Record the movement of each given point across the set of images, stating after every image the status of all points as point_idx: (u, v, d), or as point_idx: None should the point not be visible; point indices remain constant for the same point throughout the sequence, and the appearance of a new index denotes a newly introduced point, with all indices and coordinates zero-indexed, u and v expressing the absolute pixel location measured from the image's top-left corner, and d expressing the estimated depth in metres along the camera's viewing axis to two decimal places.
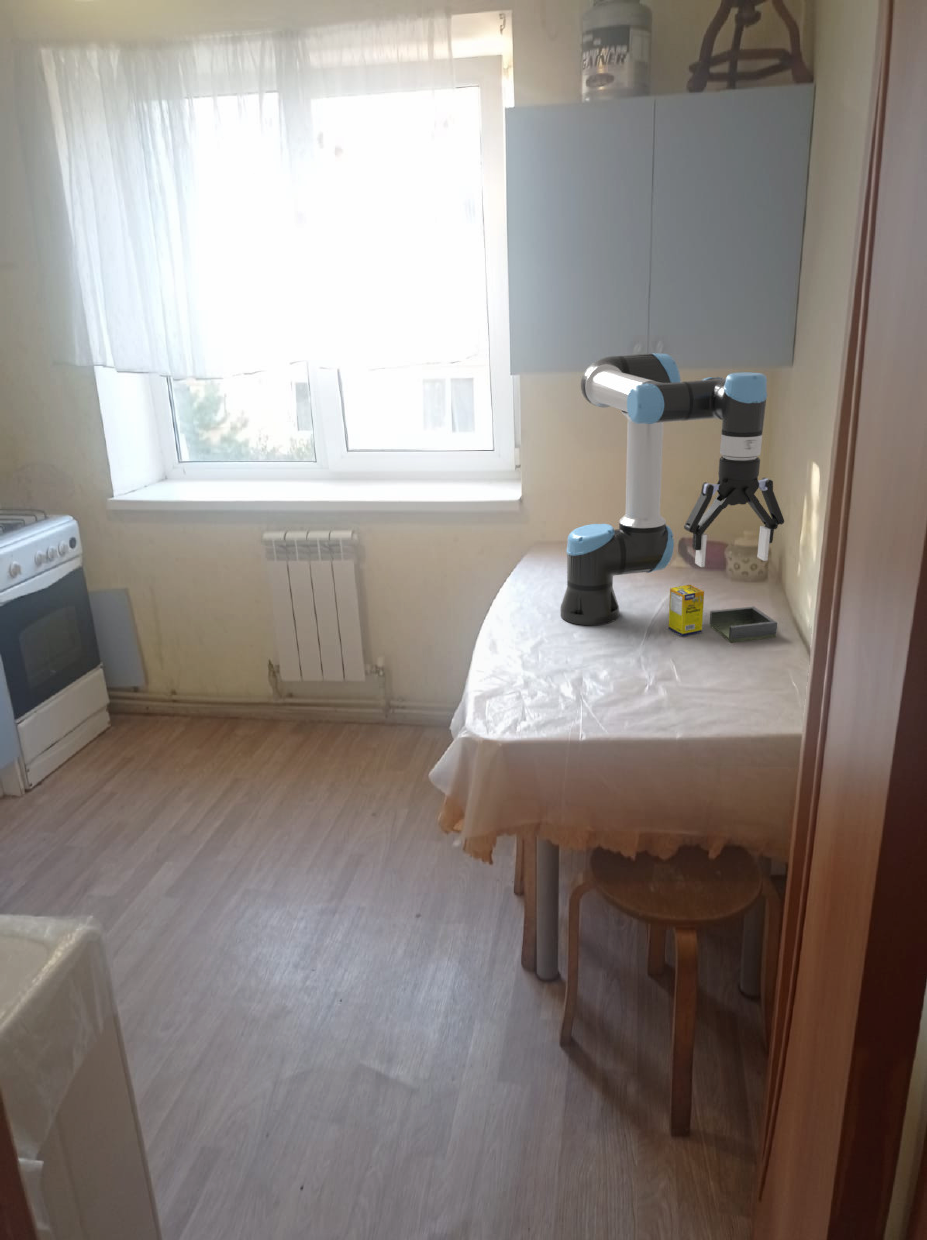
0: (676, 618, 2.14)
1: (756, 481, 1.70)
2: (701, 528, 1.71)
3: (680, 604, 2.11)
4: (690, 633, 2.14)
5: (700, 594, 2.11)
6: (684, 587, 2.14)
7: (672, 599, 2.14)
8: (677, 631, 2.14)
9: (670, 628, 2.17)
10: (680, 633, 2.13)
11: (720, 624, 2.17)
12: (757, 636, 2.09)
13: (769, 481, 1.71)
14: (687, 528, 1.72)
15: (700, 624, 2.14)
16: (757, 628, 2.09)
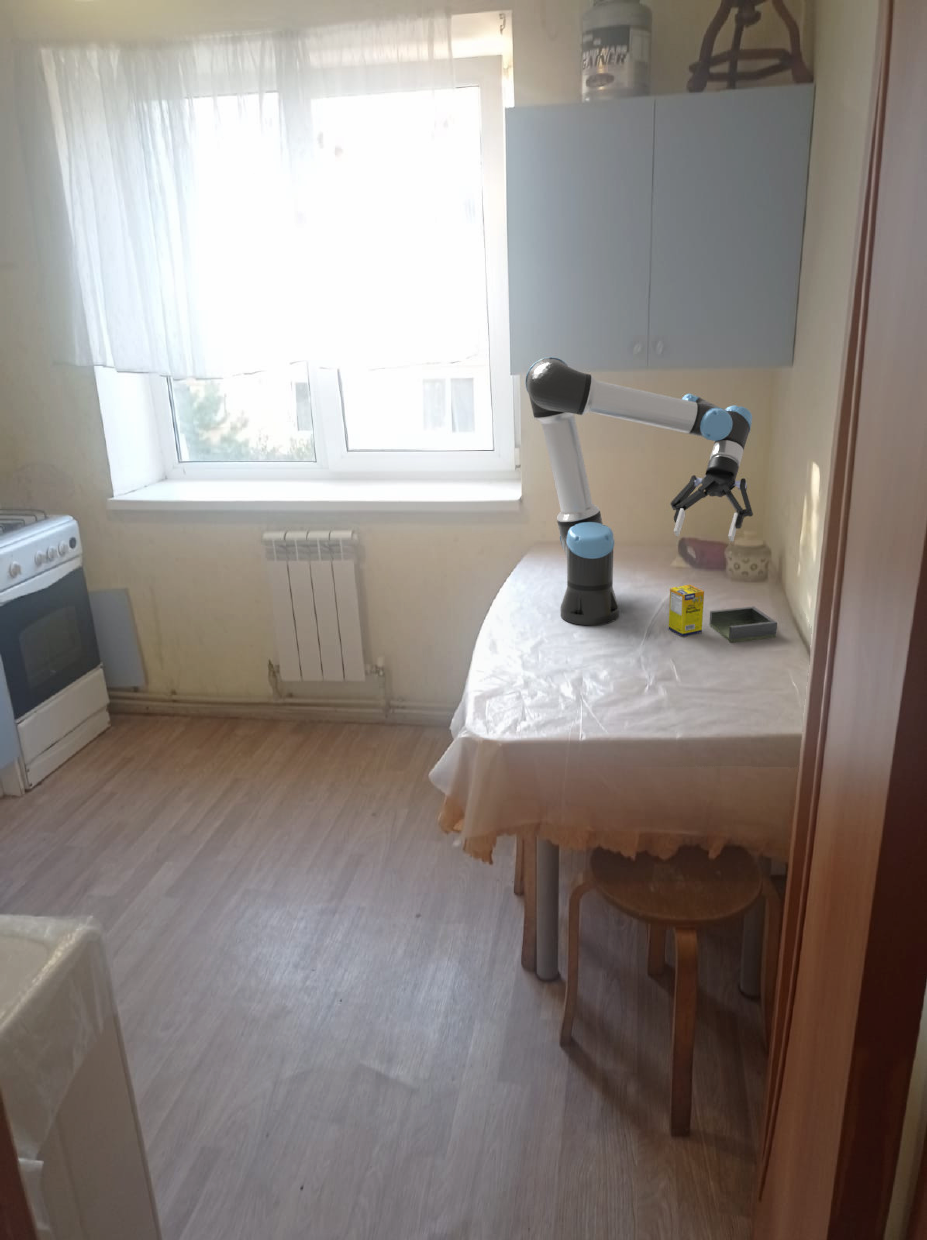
0: (676, 618, 2.14)
1: None
2: None
3: (680, 604, 2.11)
4: (690, 633, 2.14)
5: (700, 594, 2.11)
6: (684, 587, 2.14)
7: (672, 599, 2.14)
8: (677, 631, 2.14)
9: (670, 628, 2.17)
10: (680, 633, 2.13)
11: (720, 624, 2.17)
12: (757, 636, 2.09)
13: None
14: (752, 512, 2.14)
15: (700, 624, 2.14)
16: (757, 628, 2.09)
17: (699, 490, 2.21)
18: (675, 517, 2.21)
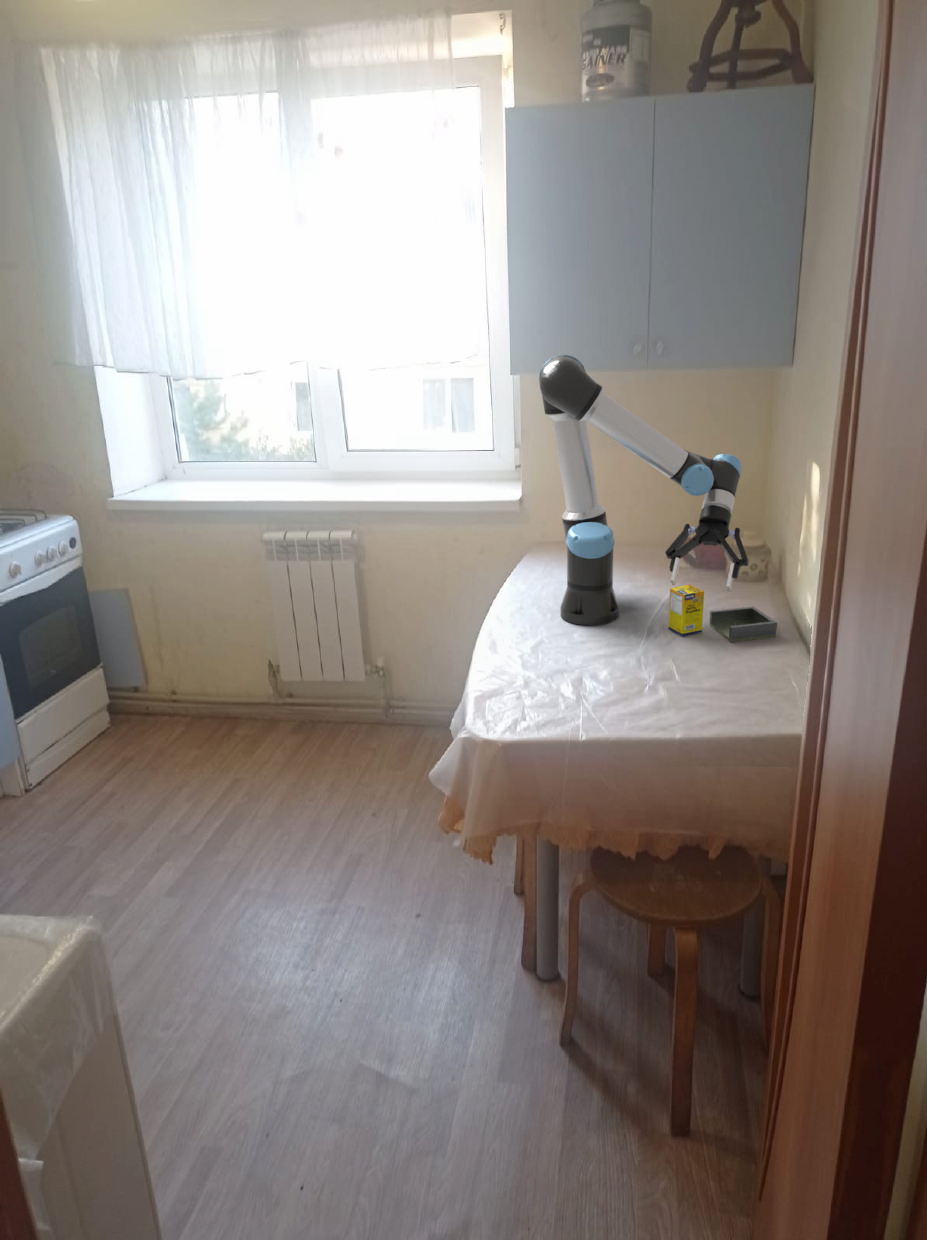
0: (676, 618, 2.14)
1: None
2: None
3: (680, 604, 2.11)
4: (690, 633, 2.14)
5: (700, 594, 2.11)
6: (684, 587, 2.14)
7: (672, 599, 2.14)
8: (677, 631, 2.14)
9: (670, 628, 2.17)
10: (680, 633, 2.13)
11: (720, 624, 2.17)
12: (757, 636, 2.09)
13: None
14: None
15: (700, 624, 2.14)
16: (757, 628, 2.09)
17: (694, 539, 2.21)
18: (671, 567, 2.21)
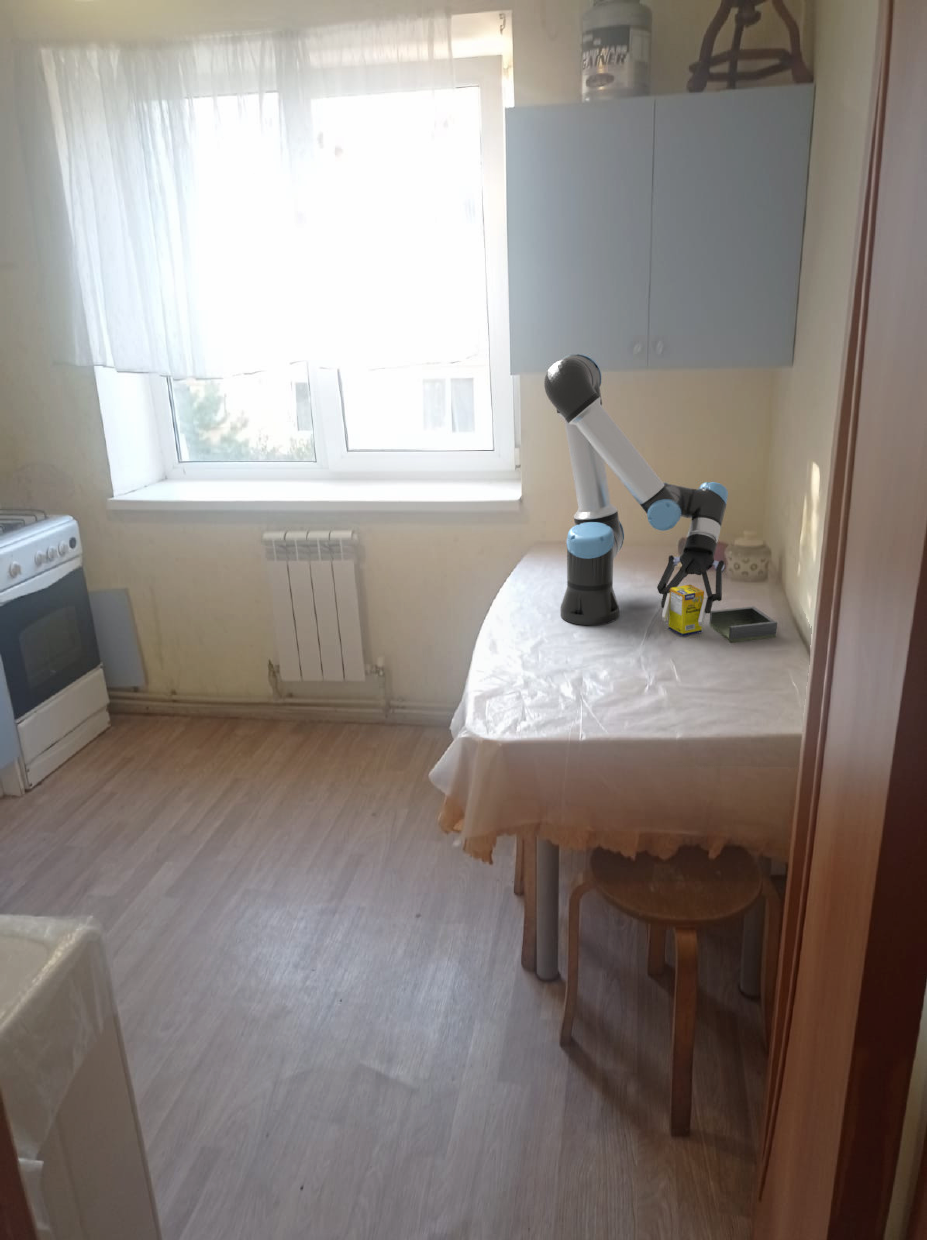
0: (676, 618, 2.14)
1: None
2: None
3: (680, 604, 2.11)
4: (690, 633, 2.14)
5: (700, 594, 2.11)
6: (684, 587, 2.14)
7: (672, 599, 2.14)
8: (677, 631, 2.14)
9: (670, 628, 2.17)
10: (680, 633, 2.13)
11: (720, 624, 2.17)
12: (757, 636, 2.09)
13: None
14: (721, 597, 2.12)
15: None
16: (757, 628, 2.09)
17: (681, 570, 2.17)
18: (662, 602, 2.16)
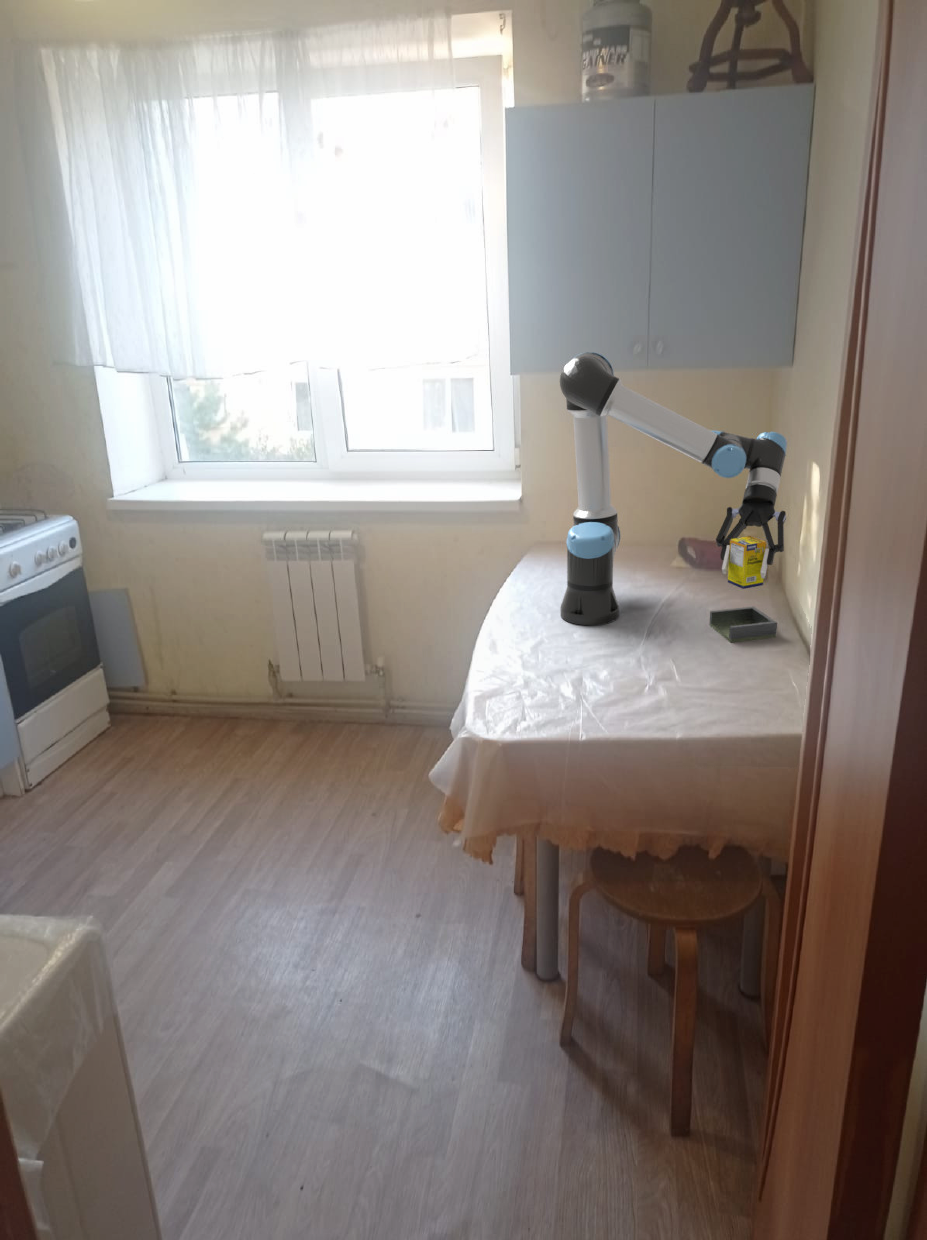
0: (737, 570, 2.08)
1: None
2: None
3: (742, 555, 2.05)
4: (751, 585, 2.08)
5: (762, 545, 2.05)
6: (745, 538, 2.08)
7: (733, 551, 2.08)
8: (738, 584, 2.08)
9: (730, 581, 2.11)
10: (741, 585, 2.07)
11: (720, 624, 2.17)
12: (757, 636, 2.09)
13: None
14: (783, 548, 2.06)
15: None
16: (757, 628, 2.09)
17: (740, 522, 2.11)
18: (722, 555, 2.10)
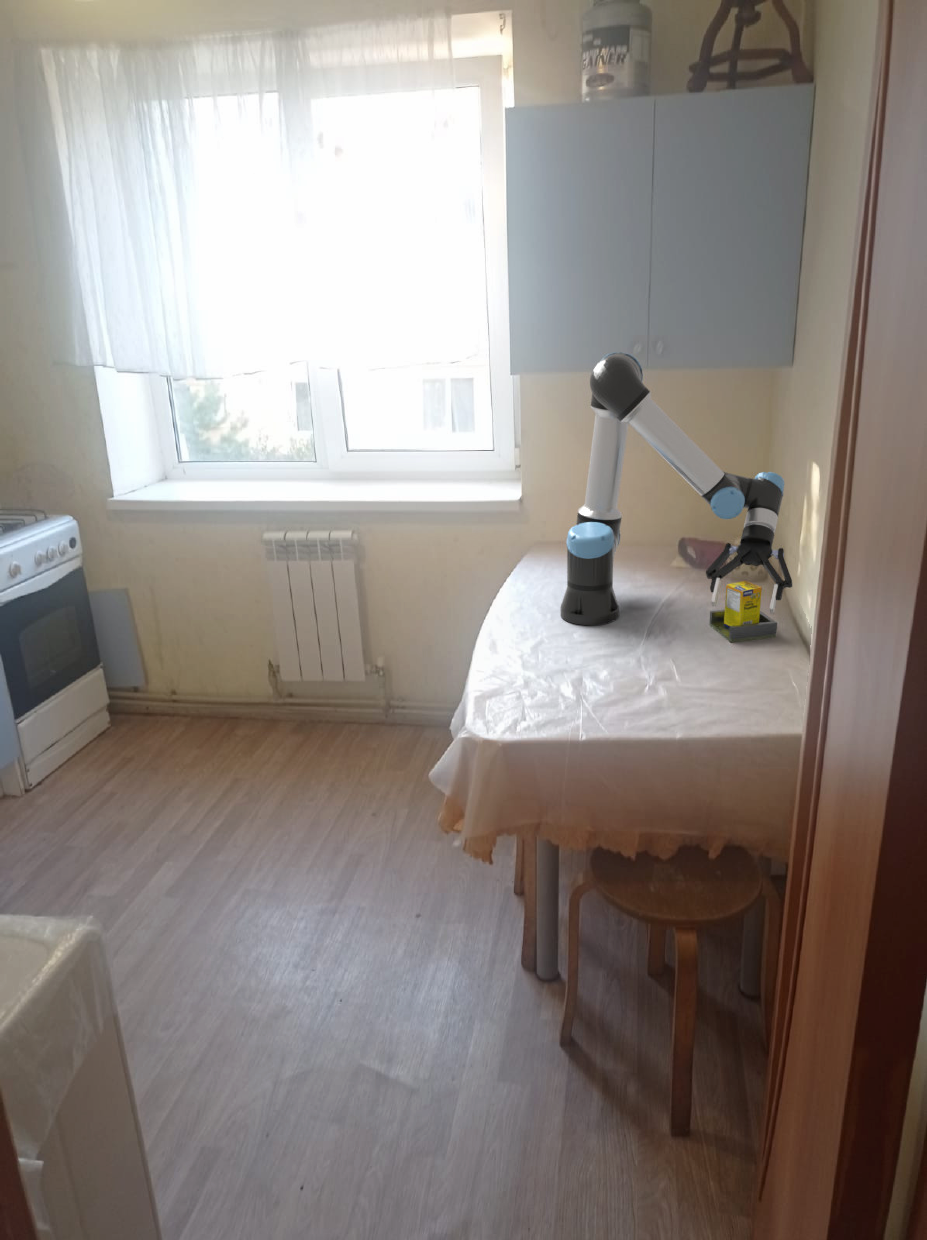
0: (733, 615, 2.12)
1: None
2: None
3: (738, 601, 2.09)
4: None
5: (758, 590, 2.09)
6: (740, 583, 2.12)
7: (729, 596, 2.12)
8: None
9: (726, 625, 2.15)
10: None
11: (720, 624, 2.17)
12: (757, 636, 2.09)
13: None
14: None
15: (757, 620, 2.12)
16: (757, 628, 2.09)
17: (735, 559, 2.15)
18: (711, 587, 2.15)
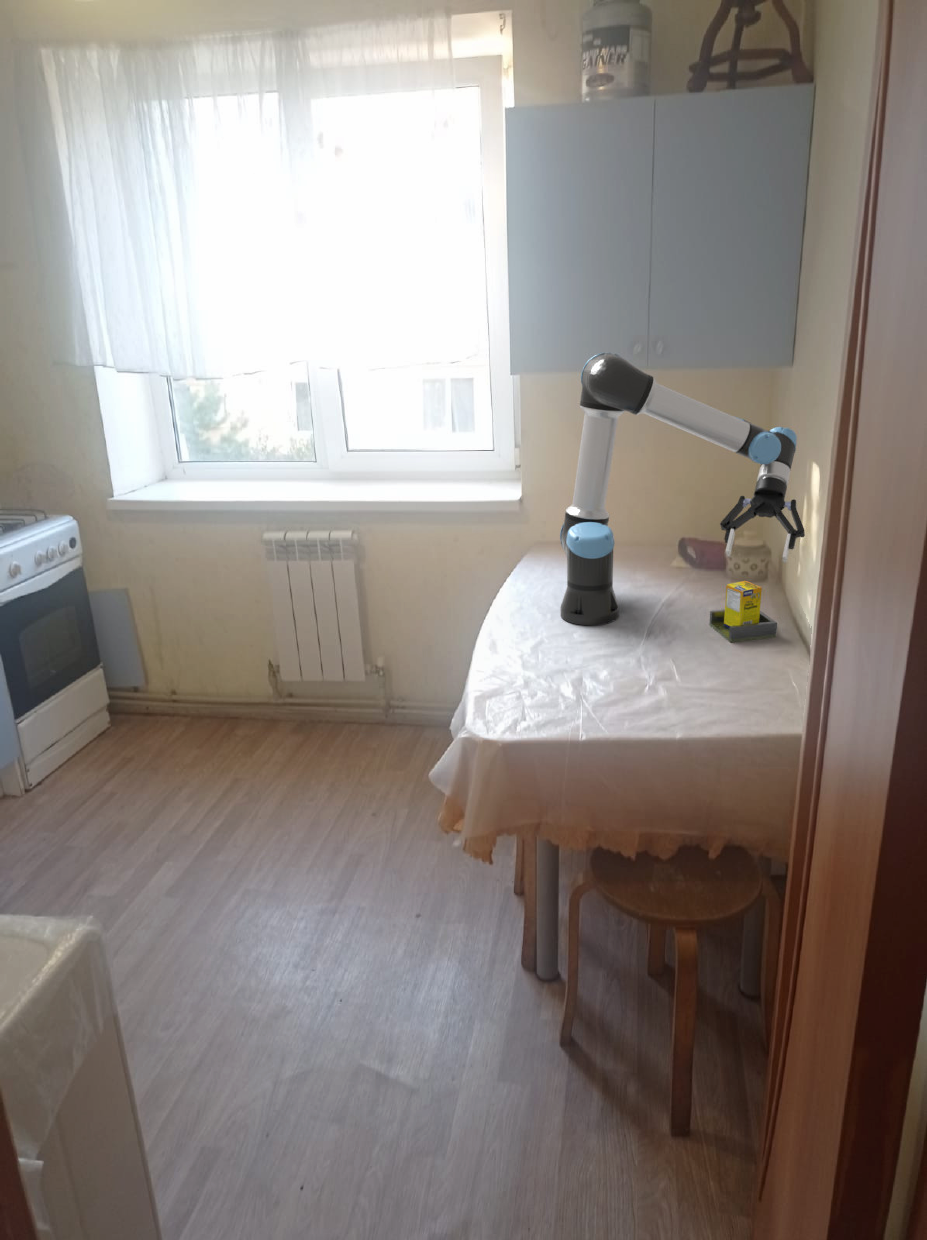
0: (733, 615, 2.12)
1: None
2: None
3: (738, 601, 2.09)
4: None
5: (758, 590, 2.09)
6: (740, 583, 2.12)
7: (729, 596, 2.12)
8: None
9: (726, 625, 2.15)
10: None
11: (720, 624, 2.17)
12: (757, 636, 2.09)
13: None
14: (804, 533, 2.15)
15: (757, 620, 2.12)
16: (757, 628, 2.09)
17: (749, 511, 2.21)
18: (726, 538, 2.21)
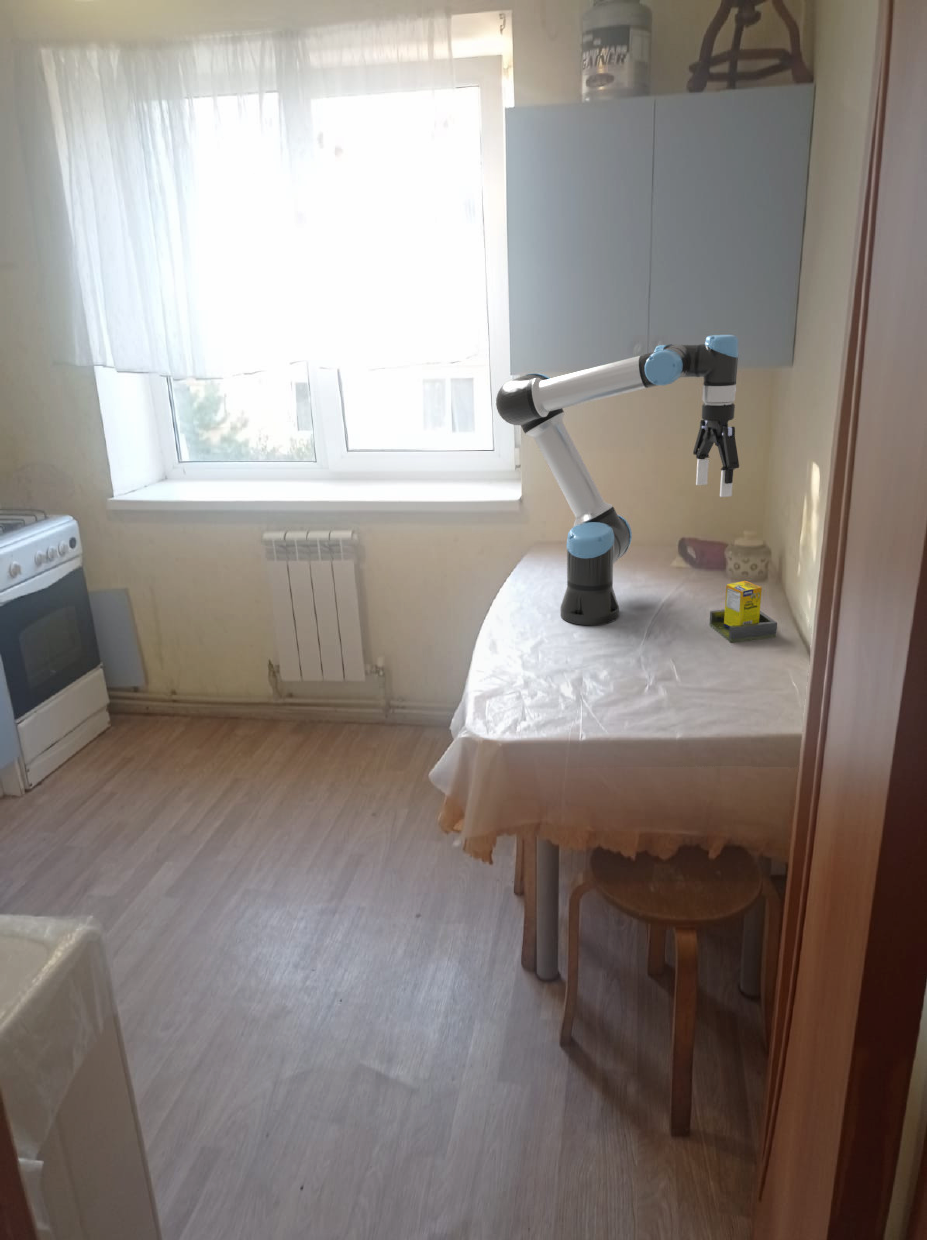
0: (733, 615, 2.12)
1: None
2: None
3: (738, 601, 2.09)
4: None
5: (758, 590, 2.09)
6: (740, 583, 2.12)
7: (729, 596, 2.12)
8: None
9: (726, 625, 2.15)
10: None
11: (720, 624, 2.17)
12: (757, 636, 2.09)
13: None
14: (735, 466, 2.06)
15: (757, 620, 2.12)
16: (757, 628, 2.09)
17: (704, 439, 2.17)
18: None
